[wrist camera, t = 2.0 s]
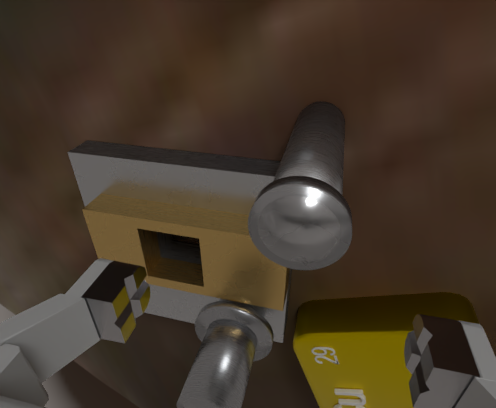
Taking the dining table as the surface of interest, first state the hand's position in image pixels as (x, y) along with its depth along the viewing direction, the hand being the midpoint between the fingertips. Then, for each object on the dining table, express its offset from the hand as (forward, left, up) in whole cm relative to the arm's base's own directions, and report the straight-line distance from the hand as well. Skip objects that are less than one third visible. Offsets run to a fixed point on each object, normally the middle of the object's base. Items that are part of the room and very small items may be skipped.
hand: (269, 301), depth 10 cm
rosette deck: (+10, +12, -16) cm, 22 cm away
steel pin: (0, 0, -16) cm, 16 cm away
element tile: (-9, +22, -16) cm, 29 cm away
